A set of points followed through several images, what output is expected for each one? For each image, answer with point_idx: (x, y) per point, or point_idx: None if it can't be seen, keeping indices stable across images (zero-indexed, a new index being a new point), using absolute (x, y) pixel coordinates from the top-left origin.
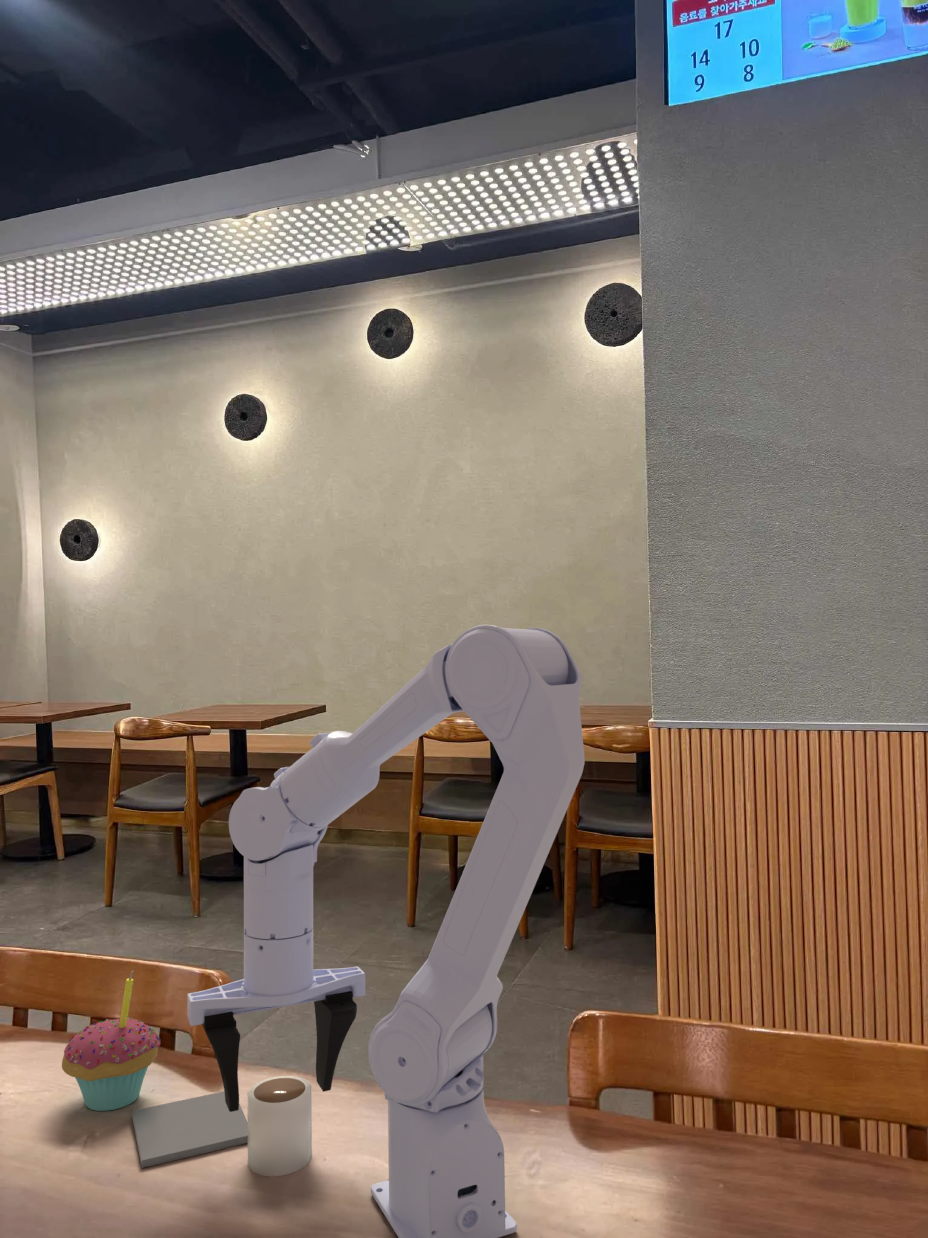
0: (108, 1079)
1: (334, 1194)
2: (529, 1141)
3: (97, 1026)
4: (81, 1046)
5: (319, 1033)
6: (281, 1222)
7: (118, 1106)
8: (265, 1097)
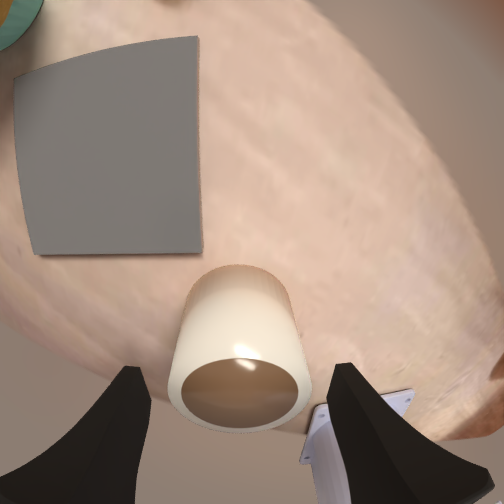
0: None
1: None
2: (478, 359)
3: None
4: None
5: (372, 462)
6: None
7: (7, 46)
8: (204, 411)
